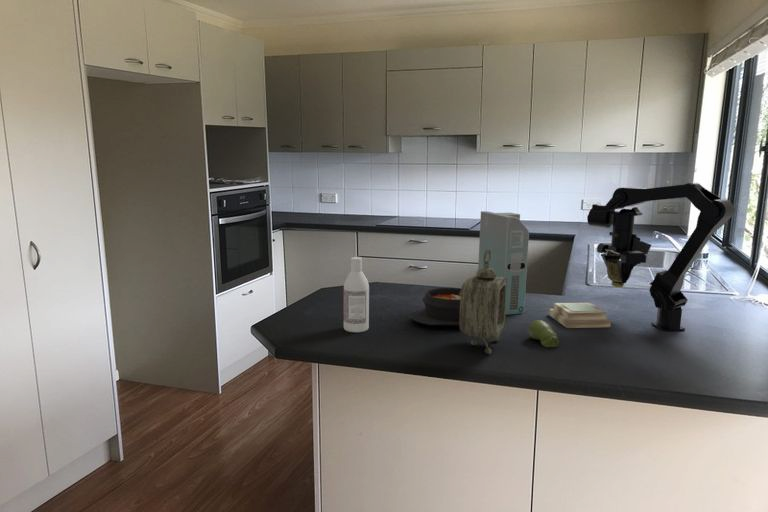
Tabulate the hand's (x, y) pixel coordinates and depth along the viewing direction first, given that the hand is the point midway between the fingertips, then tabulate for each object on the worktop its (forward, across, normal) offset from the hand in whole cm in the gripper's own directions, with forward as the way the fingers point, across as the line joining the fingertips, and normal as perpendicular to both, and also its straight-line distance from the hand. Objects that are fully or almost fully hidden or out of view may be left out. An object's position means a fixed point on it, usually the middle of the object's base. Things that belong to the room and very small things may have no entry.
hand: (618, 280), depth 173 cm
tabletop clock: (+11, -25, +49) cm, 56 cm away
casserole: (+11, -3, +52) cm, 53 cm away
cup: (+2, 0, 0) cm, 2 cm away
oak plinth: (+11, -5, +14) cm, 18 cm away
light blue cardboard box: (+11, +11, +33) cm, 37 cm away
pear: (+11, -23, +32) cm, 41 cm away
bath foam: (+11, -9, +80) cm, 81 cm away
